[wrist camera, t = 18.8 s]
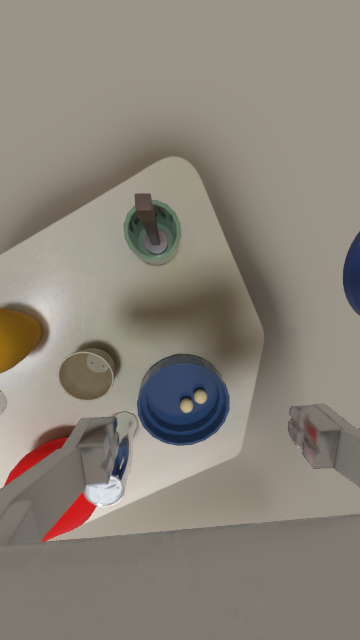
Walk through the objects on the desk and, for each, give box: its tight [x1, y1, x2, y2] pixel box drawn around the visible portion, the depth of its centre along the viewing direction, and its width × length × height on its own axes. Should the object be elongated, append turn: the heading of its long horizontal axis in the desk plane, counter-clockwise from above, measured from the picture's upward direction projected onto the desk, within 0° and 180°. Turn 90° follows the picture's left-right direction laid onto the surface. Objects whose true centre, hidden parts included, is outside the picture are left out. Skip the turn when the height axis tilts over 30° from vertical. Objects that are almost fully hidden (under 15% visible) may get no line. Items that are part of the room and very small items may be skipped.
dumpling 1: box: [180, 398, 193, 413], centre depth 43 cm, size 3×3×3 cm
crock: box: [124, 200, 181, 265], centre depth 33 cm, size 8×8×10 cm
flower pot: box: [57, 349, 115, 401], centre depth 39 cm, size 10×10×7 cm
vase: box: [4, 437, 97, 542], centre depth 37 cm, size 18×18×19 cm
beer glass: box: [83, 412, 137, 506], centre depth 38 cm, size 7×7×15 cm
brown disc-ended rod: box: [135, 194, 168, 255], centre depth 27 cm, size 4×4×20 cm
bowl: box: [137, 355, 229, 446], centre depth 42 cm, size 19×19×5 cm
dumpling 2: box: [194, 389, 207, 404], centre depth 43 cm, size 3×3×3 cm
